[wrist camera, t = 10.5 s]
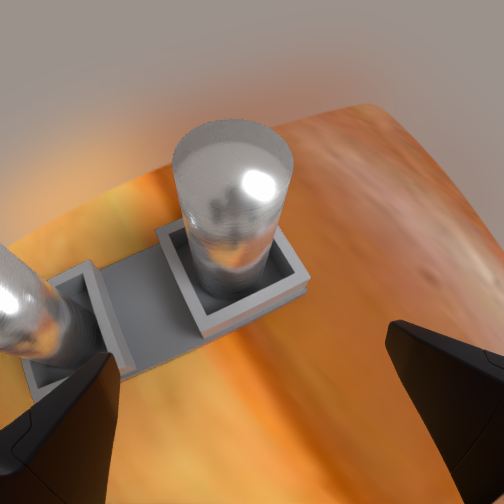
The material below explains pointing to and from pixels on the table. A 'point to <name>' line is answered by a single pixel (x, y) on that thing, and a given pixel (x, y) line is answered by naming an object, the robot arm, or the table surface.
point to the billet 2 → (231, 201)
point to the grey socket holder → (165, 304)
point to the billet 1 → (43, 319)
